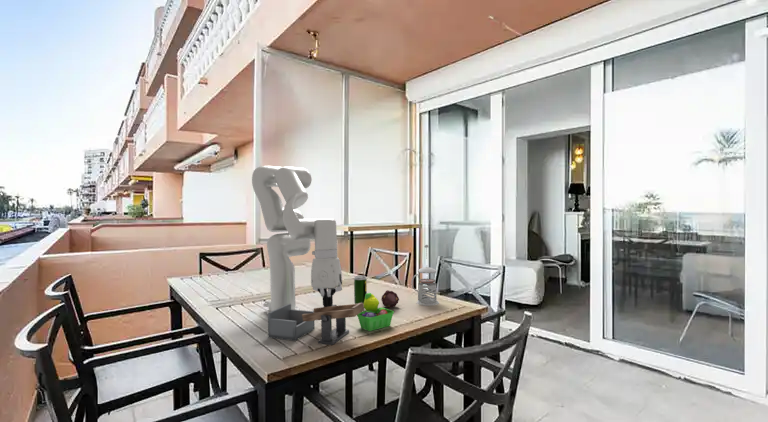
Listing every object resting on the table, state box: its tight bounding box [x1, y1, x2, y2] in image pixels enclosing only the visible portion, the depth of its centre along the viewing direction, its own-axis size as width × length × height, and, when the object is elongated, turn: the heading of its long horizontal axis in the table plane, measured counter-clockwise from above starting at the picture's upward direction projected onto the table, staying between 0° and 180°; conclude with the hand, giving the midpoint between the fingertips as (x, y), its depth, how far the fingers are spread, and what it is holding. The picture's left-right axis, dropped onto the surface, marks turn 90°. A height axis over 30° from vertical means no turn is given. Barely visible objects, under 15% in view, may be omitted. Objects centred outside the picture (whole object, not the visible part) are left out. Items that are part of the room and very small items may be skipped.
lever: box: [302, 303, 365, 322], centre depth 122 cm, size 18×16×2 cm
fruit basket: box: [356, 292, 395, 332], centre depth 129 cm, size 11×9×11 cm
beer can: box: [353, 274, 368, 304], centre depth 158 cm, size 5×5×12 cm
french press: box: [411, 244, 440, 307], centre depth 159 cm, size 10×12×25 cm
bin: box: [267, 304, 316, 342], centre depth 123 cm, size 10×12×8 cm
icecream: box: [380, 290, 400, 309], centre depth 153 cm, size 7×7×15 cm
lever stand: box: [317, 315, 350, 346], centre depth 118 cm, size 5×13×8 cm, turn 161°
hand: (327, 307), depth 127 cm, fingers closed
